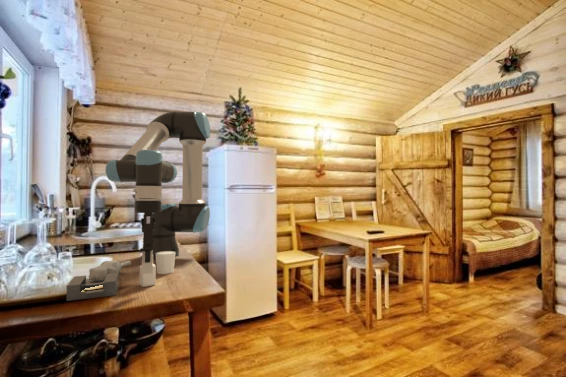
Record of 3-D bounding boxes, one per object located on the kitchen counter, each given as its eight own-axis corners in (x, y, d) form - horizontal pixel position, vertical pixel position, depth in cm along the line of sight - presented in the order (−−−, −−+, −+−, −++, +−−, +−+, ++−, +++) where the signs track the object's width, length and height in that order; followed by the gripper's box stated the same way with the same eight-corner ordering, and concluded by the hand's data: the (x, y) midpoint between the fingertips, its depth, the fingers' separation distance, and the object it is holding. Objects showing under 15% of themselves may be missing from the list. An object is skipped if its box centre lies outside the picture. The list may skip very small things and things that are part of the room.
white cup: (168, 275, 107) (168, 255, 107) (151, 273, 108) (151, 254, 108) (179, 270, 114) (179, 251, 114) (162, 269, 115) (162, 250, 115)
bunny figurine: (79, 270, 97) (109, 255, 112) (80, 285, 98) (109, 268, 113) (108, 271, 97) (134, 255, 112) (109, 286, 97) (134, 269, 112)
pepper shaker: (139, 284, 96) (139, 254, 96) (152, 282, 98) (152, 252, 99) (142, 287, 93) (142, 256, 93) (155, 285, 95) (156, 254, 95)
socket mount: (74, 290, 90) (74, 276, 90) (118, 285, 95) (118, 272, 95) (66, 300, 81) (66, 285, 81) (115, 295, 86) (115, 281, 86)
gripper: (136, 199, 106) (135, 261, 105) (133, 200, 83) (132, 279, 82) (159, 199, 109) (158, 259, 108) (163, 200, 86) (162, 276, 85)
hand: (147, 268), depth 95 cm, fingers open, 13 cm apart
